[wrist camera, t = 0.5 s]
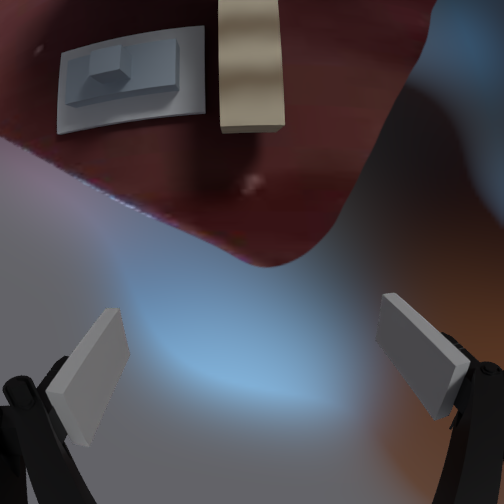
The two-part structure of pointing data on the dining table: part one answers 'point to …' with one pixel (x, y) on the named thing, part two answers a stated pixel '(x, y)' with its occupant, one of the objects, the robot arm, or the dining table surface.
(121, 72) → the fulcrum stand
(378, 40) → the dining table surface
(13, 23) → the dining table surface
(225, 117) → the pine batten
